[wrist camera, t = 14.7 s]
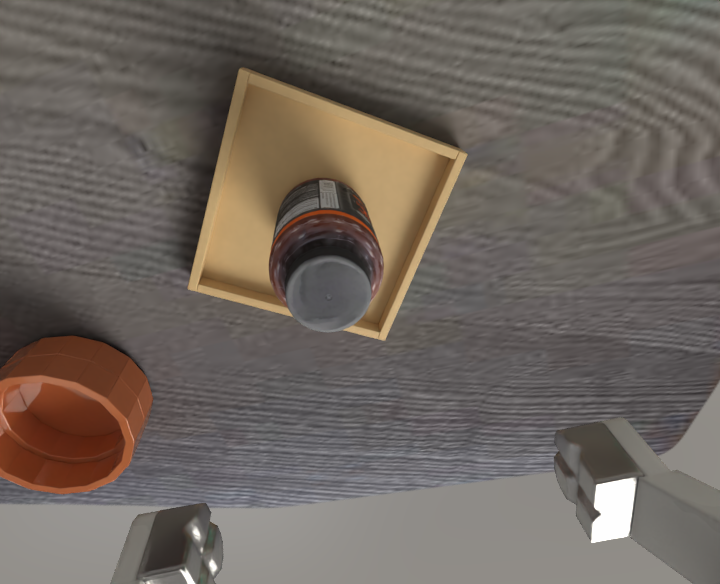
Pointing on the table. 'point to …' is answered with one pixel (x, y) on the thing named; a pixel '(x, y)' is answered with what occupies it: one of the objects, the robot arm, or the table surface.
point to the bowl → (70, 414)
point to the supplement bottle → (325, 255)
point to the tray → (307, 161)
